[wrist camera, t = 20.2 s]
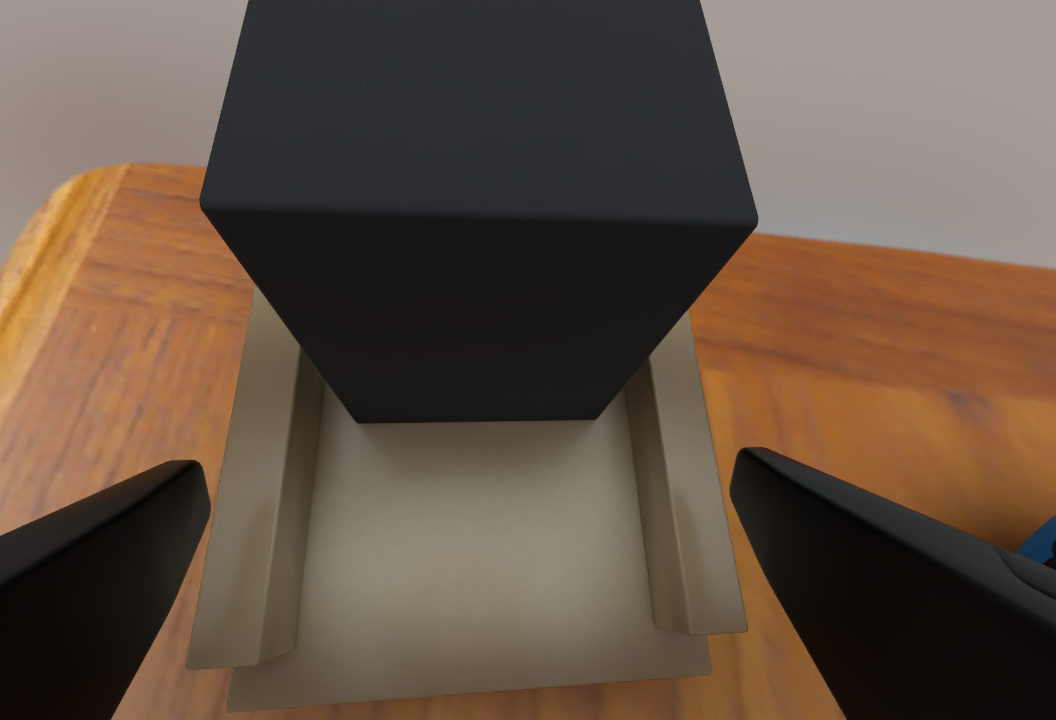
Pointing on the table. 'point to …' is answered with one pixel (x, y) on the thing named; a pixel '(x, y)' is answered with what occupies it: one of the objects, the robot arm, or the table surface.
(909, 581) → the robot arm
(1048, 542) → the ornament
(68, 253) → the table surface
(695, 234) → the black rectangular block
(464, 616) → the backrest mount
